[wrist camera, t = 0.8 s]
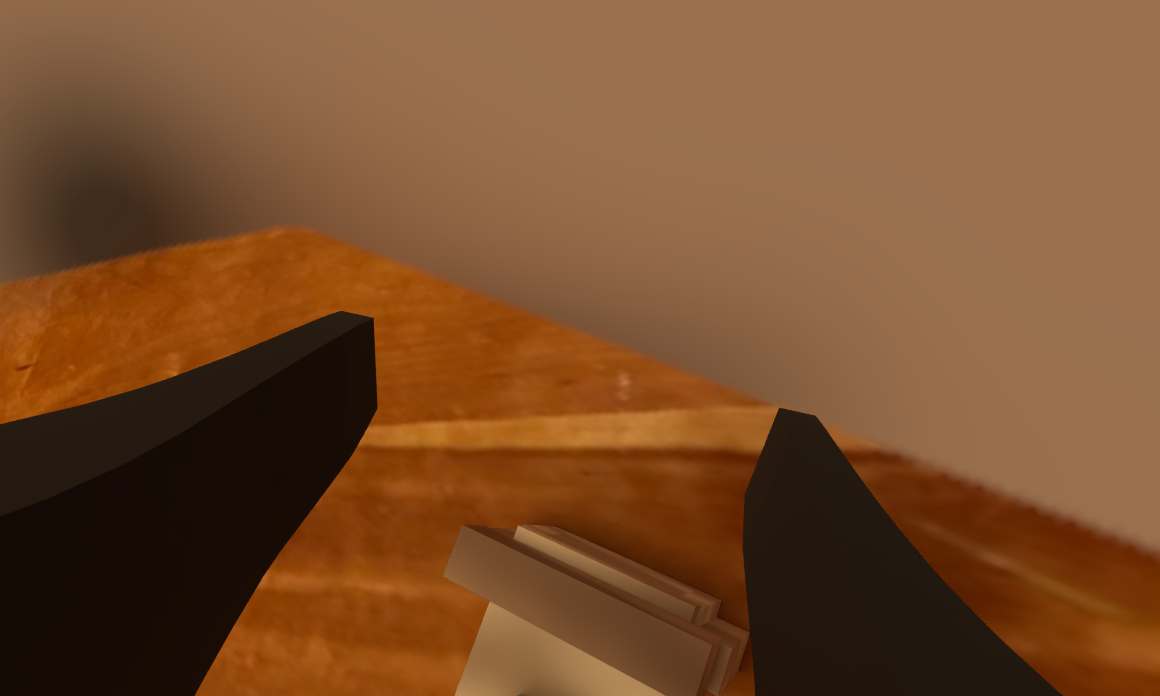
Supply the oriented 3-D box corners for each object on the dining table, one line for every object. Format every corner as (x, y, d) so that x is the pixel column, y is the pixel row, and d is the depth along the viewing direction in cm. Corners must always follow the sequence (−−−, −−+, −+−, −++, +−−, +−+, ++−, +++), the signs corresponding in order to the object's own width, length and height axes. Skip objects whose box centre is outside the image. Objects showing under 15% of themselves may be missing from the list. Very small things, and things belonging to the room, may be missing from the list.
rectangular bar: (703, 697, 21) (691, 709, 20) (468, 574, 26) (442, 576, 24) (722, 637, 21) (712, 645, 20) (486, 526, 26) (462, 524, 24)
